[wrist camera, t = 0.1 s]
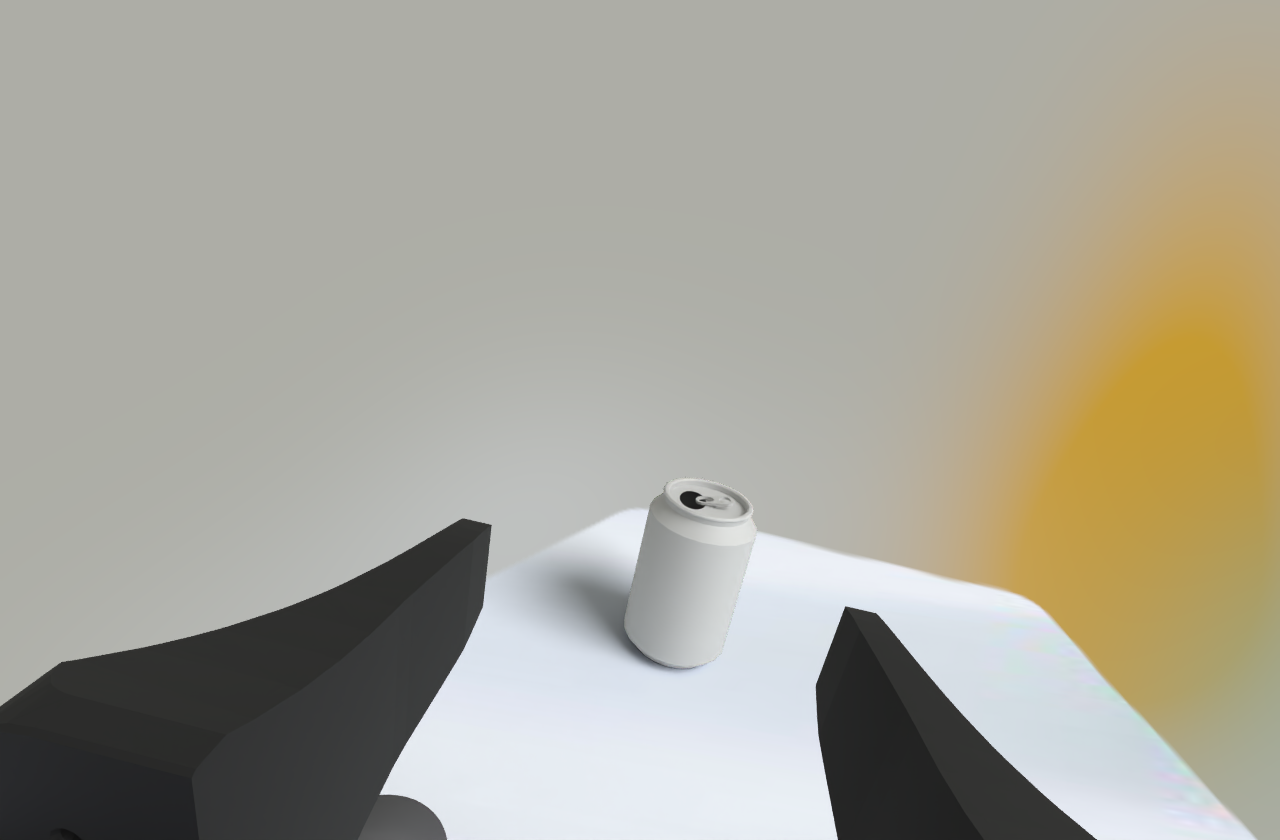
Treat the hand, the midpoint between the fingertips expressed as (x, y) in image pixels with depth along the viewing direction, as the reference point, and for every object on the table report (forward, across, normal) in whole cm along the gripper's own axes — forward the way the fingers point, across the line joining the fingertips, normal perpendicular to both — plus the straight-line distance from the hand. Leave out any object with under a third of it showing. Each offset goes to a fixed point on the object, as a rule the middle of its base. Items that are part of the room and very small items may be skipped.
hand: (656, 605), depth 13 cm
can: (+27, -3, +24) cm, 36 cm away
